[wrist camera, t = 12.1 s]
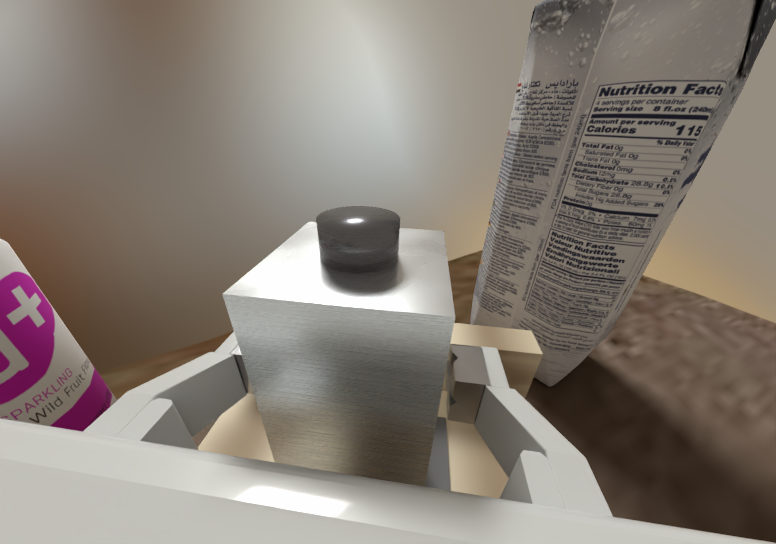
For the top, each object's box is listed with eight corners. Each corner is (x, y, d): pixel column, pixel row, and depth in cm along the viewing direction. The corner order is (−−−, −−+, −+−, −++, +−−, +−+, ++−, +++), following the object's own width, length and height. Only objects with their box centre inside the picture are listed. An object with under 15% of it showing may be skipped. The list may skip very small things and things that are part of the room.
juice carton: (556, 405, 22) (838, -153, 9) (454, 331, 29) (522, -31, 16) (602, 356, 26) (829, -53, 13) (504, 303, 34) (588, 5, 21)
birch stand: (45, 789, 9) (-206, 804, 5) (277, 382, 23) (258, 303, 19) (645, 974, 7) (963, 1215, 3) (502, 411, 21) (531, 330, 17)
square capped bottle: (299, 542, 11) (207, 247, 5) (333, 433, 15) (305, 191, 9) (411, 563, 11) (464, 267, 5) (415, 445, 15) (447, 200, 8)
